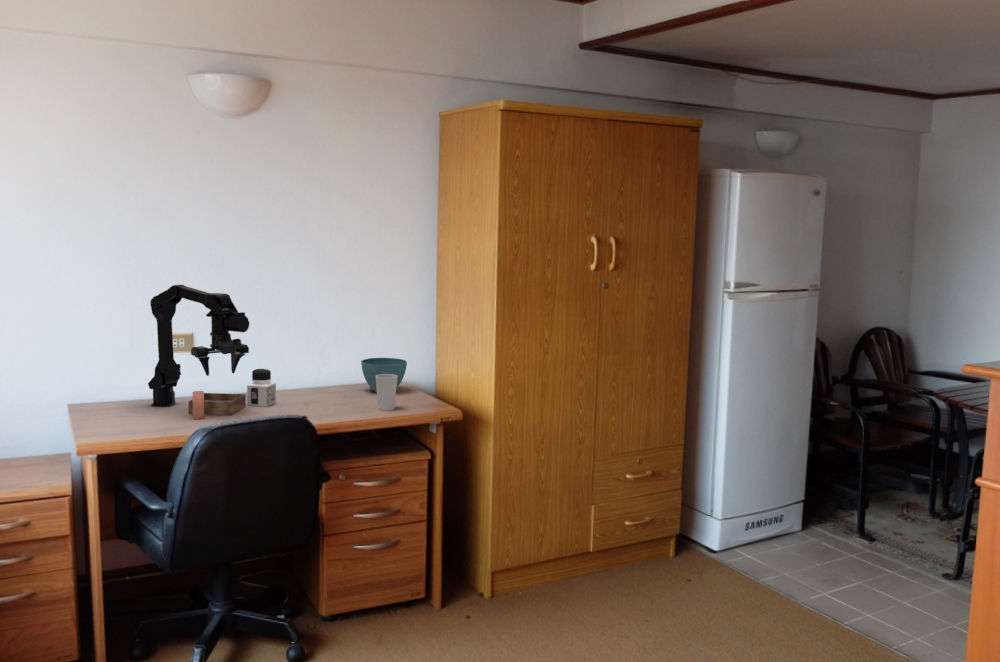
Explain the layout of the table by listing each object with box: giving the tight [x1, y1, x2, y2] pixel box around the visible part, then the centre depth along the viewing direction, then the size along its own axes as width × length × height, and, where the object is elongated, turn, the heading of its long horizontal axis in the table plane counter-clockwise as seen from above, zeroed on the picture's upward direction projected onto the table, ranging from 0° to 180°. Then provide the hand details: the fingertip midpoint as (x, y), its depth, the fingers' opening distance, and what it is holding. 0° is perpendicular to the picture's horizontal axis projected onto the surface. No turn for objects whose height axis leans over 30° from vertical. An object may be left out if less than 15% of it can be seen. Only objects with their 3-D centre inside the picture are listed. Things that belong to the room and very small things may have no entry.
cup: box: [376, 374, 398, 411], centre depth 314 cm, size 8×8×12 cm
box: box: [188, 392, 247, 416], centre depth 304 cm, size 15×15×4 cm
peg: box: [192, 390, 205, 420], centre depth 291 cm, size 4×4×9 cm
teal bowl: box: [360, 357, 408, 393], centre depth 346 cm, size 18×18×12 cm
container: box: [246, 368, 277, 408], centre depth 315 cm, size 8×8×13 cm
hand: (220, 374), depth 299 cm, fingers open, 9 cm apart
